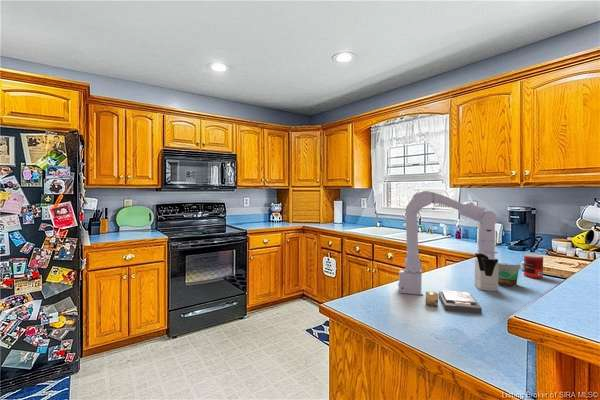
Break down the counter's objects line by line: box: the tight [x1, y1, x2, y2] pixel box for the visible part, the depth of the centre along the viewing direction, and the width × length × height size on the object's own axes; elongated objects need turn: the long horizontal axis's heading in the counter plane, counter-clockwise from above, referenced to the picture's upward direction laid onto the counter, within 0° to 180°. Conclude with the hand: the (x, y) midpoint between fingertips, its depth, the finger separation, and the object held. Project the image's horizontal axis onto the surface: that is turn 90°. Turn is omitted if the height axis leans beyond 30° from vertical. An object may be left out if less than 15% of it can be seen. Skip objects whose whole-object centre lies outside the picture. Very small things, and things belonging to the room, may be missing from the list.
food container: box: [498, 262, 522, 288], centre depth 143 cm, size 12×6×10 cm, turn 68°
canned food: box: [523, 253, 544, 280], centre depth 156 cm, size 8×8×11 cm
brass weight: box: [425, 290, 439, 308], centre depth 119 cm, size 4×4×4 cm
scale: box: [438, 291, 483, 315], centre depth 119 cm, size 12×15×3 cm
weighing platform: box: [441, 289, 477, 304], centre depth 121 cm, size 10×11×1 cm
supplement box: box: [474, 257, 500, 292], centre depth 139 cm, size 7×7×13 cm
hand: (485, 273), depth 126 cm, fingers open, 7 cm apart
